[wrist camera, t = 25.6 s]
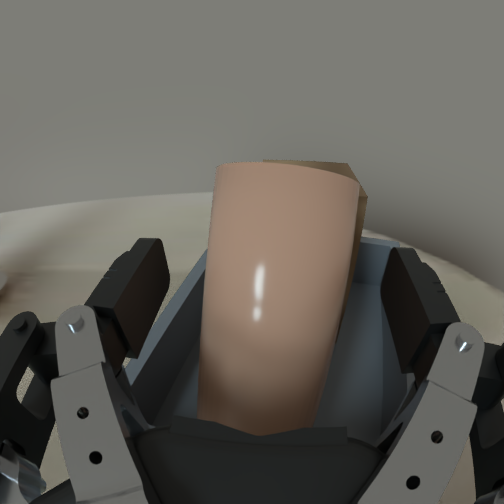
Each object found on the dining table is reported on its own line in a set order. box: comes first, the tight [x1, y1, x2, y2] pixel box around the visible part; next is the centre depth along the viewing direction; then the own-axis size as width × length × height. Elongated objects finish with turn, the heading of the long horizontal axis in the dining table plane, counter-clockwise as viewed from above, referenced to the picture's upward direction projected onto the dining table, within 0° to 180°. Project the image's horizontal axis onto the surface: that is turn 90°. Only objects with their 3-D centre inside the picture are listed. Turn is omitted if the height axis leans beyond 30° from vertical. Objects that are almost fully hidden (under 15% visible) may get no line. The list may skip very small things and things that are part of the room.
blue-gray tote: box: [125, 237, 415, 446], centre depth 17 cm, size 14×18×5 cm
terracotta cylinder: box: [197, 162, 360, 436], centre depth 11 cm, size 5×5×10 cm
